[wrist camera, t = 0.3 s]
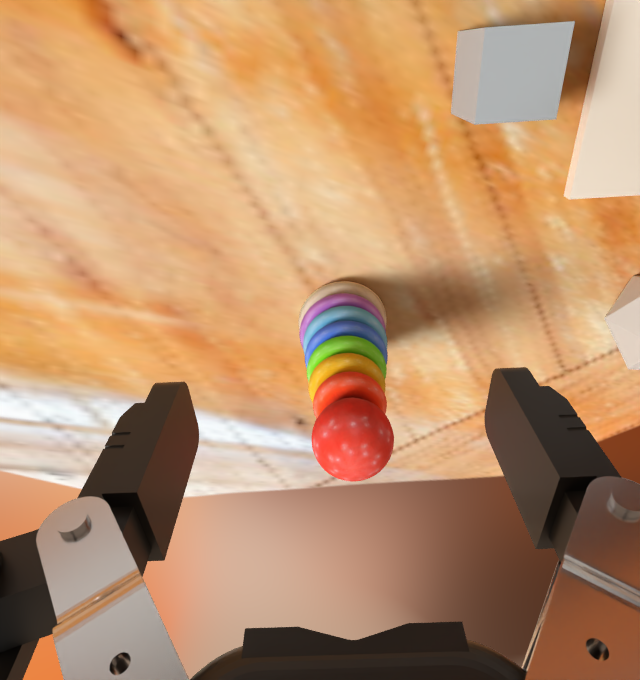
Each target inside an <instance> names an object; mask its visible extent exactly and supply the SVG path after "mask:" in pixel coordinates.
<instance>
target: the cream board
mask: <svg viewBox="0 0 640 680" xmlns="http://www.w3.org/2000/svg"><path fill="white" fill-rule="evenodd" d="M634 195H640V0H606V3H605V8H604V12H603V17H602V22H601V26H600V31H599V35H598V40H597V45H596V49H595V54H594V58H593V63H592V68H591V72H590V77H589V81H588V86H587V91H586V95H585V100H584V104H583V109H582V114H581V118H580V123H579V127H578V132H577V137H576V141H575V146H574V150H573V155H572V160H571V164H570V169H569V173H568V178H567V183H566V187H565V192H564V196H565V197H566V198H568V199H583V198H600V197H617V196H634Z"/></svg>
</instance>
